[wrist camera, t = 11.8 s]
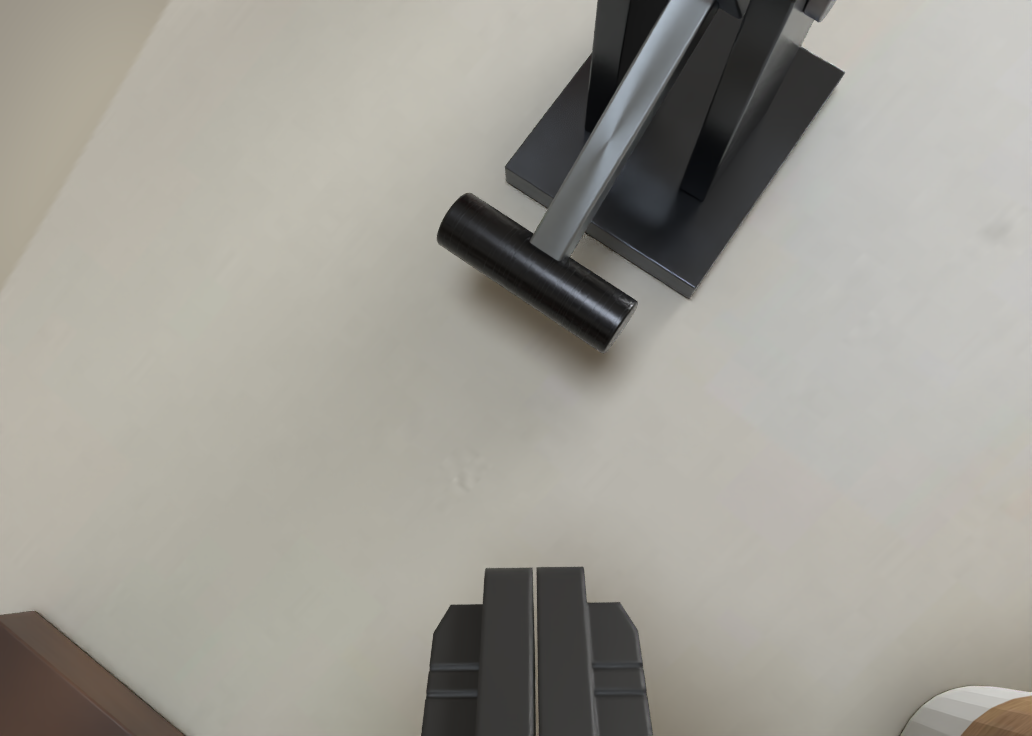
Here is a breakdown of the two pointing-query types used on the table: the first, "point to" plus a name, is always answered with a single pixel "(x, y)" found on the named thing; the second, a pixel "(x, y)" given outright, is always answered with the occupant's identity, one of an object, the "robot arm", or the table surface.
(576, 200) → the tap lever
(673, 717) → the table surface
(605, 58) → the lever stand
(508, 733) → the robot arm
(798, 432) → the table surface
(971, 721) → the coffee cup
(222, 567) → the table surface
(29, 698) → the button block
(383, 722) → the table surface
